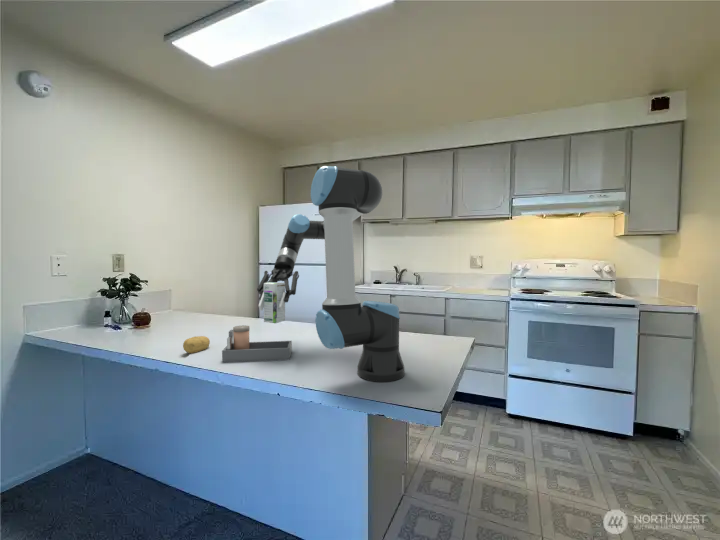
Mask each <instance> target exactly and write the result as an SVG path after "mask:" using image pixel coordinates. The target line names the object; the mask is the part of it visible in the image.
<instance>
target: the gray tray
mask: <svg viewBox="0 0 720 540" xmlns="http://www.w3.org/2000/svg"><path fill="white" fill-rule="evenodd" d="M249 343H250V349H241V350H227V345H226V346H225V347H224V348H223V349H222V350H221V355H222V356H221V357H222V358H221V359H222V361H221V362H222V363H236V362H237V363H238V362H259V361H260V362H261V361H263V362H265V361H283V360H284V361H287V360H289V361H290V360H291V355H292V351H293V346H292V343H293V341H292V340H276V341H275V340H273V341H249Z"/></svg>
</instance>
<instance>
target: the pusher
mask: <svg viewBox="0 0 720 540" xmlns="http://www.w3.org/2000/svg"><path fill="white" fill-rule="evenodd" d="M226 346H227V350H234V331H233V329H230V330H229V331H228V337H227V338H226Z"/></svg>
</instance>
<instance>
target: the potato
mask: <svg viewBox="0 0 720 540" xmlns="http://www.w3.org/2000/svg"><path fill="white" fill-rule="evenodd" d="M210 344H211V341H210V338H209V337H207V336H205V335H200V336H198V335H197V336H192V337H189V338H187V339H185V340H184V342H183V344H182V347H183V351H185V352H186V353H188V354H195V353H198V352H202V351H203V350H206V349H208V348H209V346H210Z"/></svg>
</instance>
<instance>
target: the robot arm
mask: <svg viewBox="0 0 720 540" xmlns="http://www.w3.org/2000/svg"><path fill="white" fill-rule="evenodd" d="M382 197H383V187H382V183H381V182H380V180H379V178H378V177H377V176H376V175H375V174H373V173H372V172H371V171H370V172H369V171H368V170H361V169H353V168H347V167H346V168H345V167H341V166H336V165H334V166H333V165H332V166H331V165H328V166H327V165H323V166H321V167H319V169H317V170H316V172H315V174H314V177H313V179H312V181H311V187H310V199H311V200H310V201H311V203H312V205H314V206H316V207H318V214H319V215H320V216H321V217H322V218H323V220H310V219H309V218H308V217H307V216H306V215H303V214H301V213H297V214H294V215H293V216H292V217H291V218H290V220H289V222H288V225H287V229H286V232H285V234H284V237H283V239H282V243H281V247H280V249H279V251H278V255H277V257H276V259H275V263H274V267H273V268H272V270H271V271H268V270H264V272H263V273H264V274H263V277H262V278H261V281H260V283H259V284H258V286H257V288H256V290H257V291H256V292H257V293H258V295H259V298H258V300H259V303H258V308H259V310H260V311H264V283H267V282H277V283H279V282H280V281H282V282H283V283H285V292H283V295H282V298H281V302H280V305H279V308H280V310H281V311H283V309H284V306H285V307H286V303H288V302H289V300H290V296H292V295H293V296H295V295H296V294H297V286H298V285H297V284H298V279H299V277H300V274H299V271H297V270H296V271H294V268H295V264H296V262H297V258H298V255H299V251H300V249H301V246H302V244H303V242H304V240H324V253H325V277H326V278H325V281H326V283H325V284H326V298H325V300H323V302H322V303H321V309H320V310H318V311H317V312H316V314H315V320H314V321H315V328H316V333H317V335H318V336H317V337H318V338H319V340H320V342H321V344H322V345H323V346H324V347H325V348H326V349H329V350H335V349H340V350H343V349H344V348H349V347H358V346H362V350H361V354H360V358H359V360H358V364H357V375H358V377H360V378H361V377H362V379H363V378H364V380H366V379H367V381H370V380H371V382H377V381H378V382H382V383H384V382H394V381H398V380H400V379H402V378H403V377H404V376H405V365H404V361H403V358H402V355H401V352H400V319H401V317H400V309H399V306H398V305H396V304H394V303H390V302H385V301H373V300H364V301H363V302H361V301H362V300H360V299H358V297H357V296H356V277H355V273H356V272H355V253H354V252H355V250H354V249H355V248H354V229H353V228H354V227H353V222H354V221H356V220H357V219H358V218H359V217H360V216H362V215H367V214H370V213H371V212H373V211H374V210H375V209H376V208H377V207H378V206H379V204H380V203H381V201H382ZM291 277H292V280H291V286H290V283H289V278H291Z"/></svg>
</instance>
